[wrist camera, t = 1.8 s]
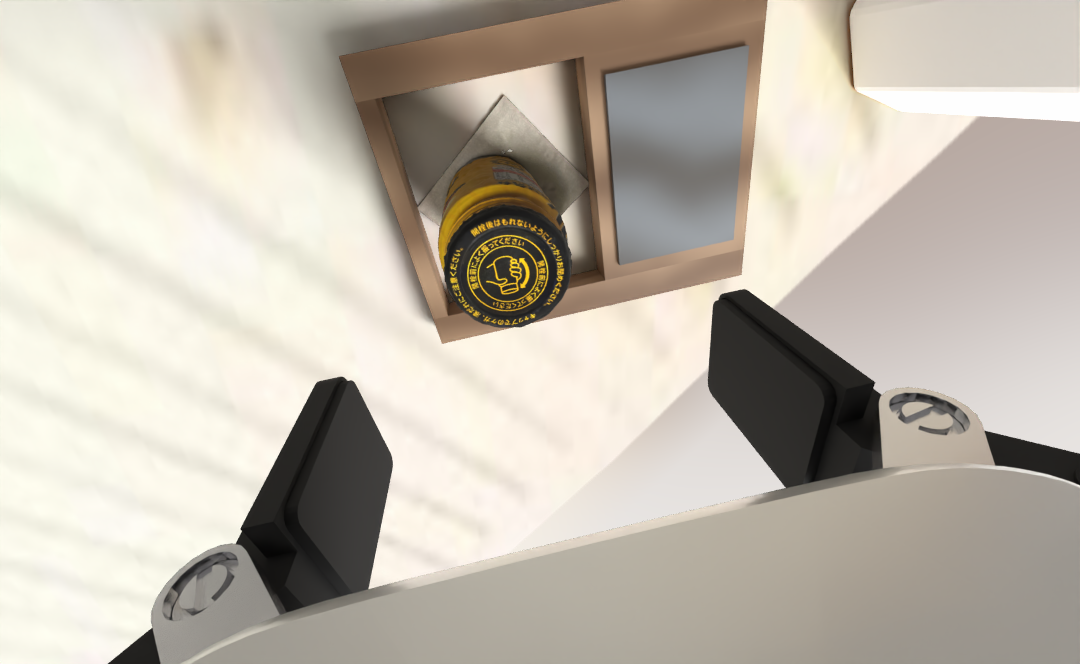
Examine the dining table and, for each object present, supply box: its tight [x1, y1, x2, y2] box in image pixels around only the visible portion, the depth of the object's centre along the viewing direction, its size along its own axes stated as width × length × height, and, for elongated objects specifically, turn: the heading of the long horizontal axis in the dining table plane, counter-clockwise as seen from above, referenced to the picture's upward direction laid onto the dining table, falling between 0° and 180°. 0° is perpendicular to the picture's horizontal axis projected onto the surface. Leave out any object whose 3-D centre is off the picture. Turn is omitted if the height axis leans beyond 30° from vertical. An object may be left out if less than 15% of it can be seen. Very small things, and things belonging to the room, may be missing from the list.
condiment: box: [418, 95, 589, 328], centre depth 21 cm, size 7×8×12 cm
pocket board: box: [339, 0, 767, 344], centre depth 26 cm, size 17×22×2 cm
